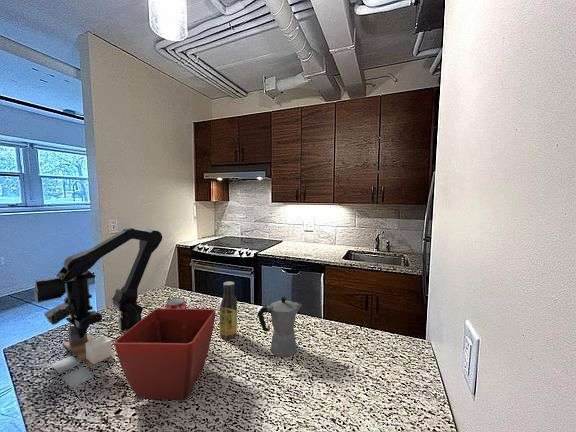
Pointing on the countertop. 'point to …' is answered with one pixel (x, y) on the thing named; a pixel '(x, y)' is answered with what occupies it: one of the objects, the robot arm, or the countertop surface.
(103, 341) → the cube
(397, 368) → the countertop surface
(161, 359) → the plant pot
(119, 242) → the robot arm
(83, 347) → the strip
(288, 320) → the coffeepot
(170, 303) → the soda can
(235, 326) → the sauce bottle
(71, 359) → the broken strip
